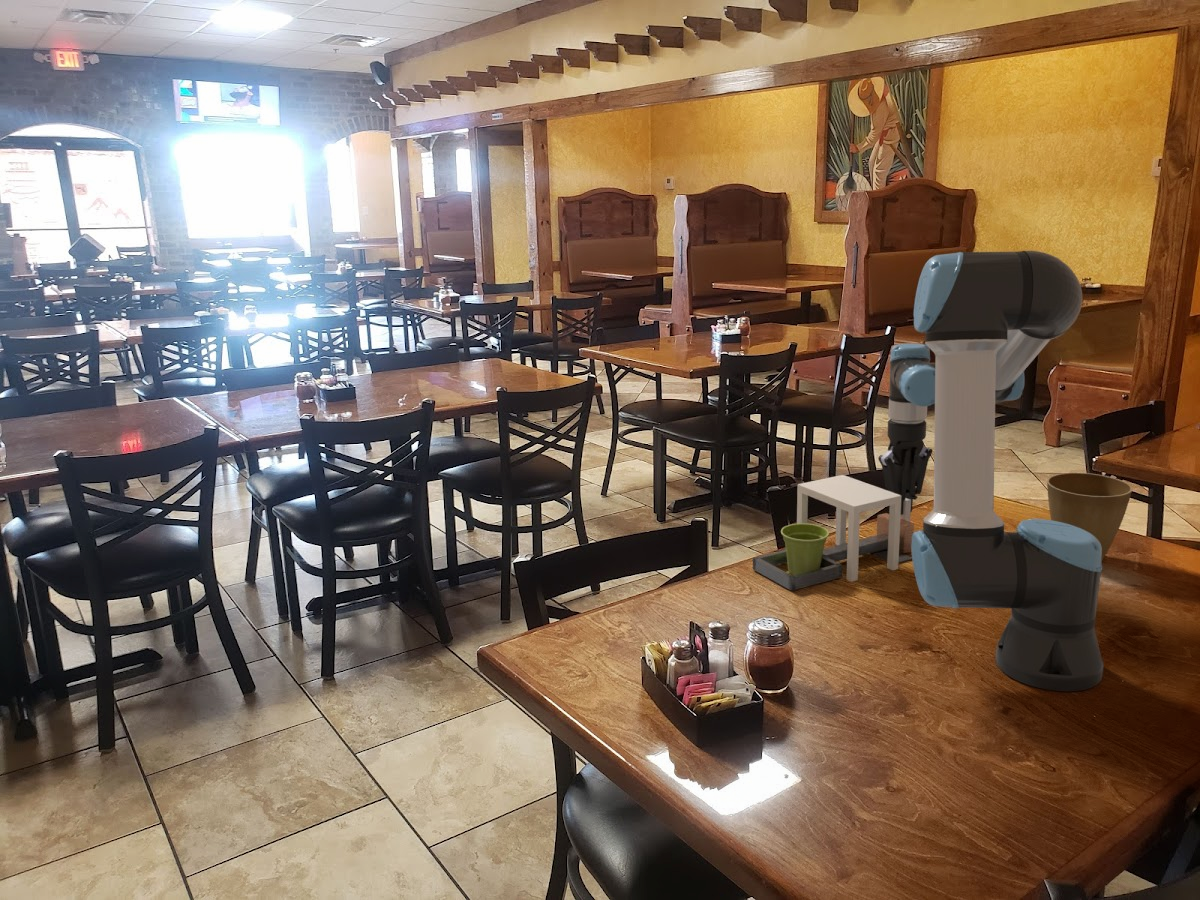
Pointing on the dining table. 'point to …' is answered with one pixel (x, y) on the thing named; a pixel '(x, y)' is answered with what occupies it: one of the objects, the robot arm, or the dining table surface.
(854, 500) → the white mini stool
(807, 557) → the plant pot
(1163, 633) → the dining table surface
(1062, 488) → the plant pot
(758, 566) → the long-handled tray
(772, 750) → the dining table surface
